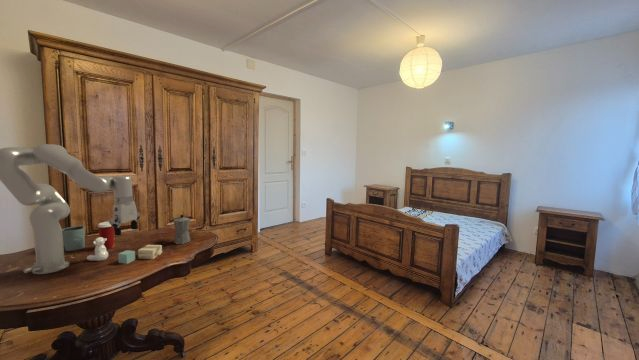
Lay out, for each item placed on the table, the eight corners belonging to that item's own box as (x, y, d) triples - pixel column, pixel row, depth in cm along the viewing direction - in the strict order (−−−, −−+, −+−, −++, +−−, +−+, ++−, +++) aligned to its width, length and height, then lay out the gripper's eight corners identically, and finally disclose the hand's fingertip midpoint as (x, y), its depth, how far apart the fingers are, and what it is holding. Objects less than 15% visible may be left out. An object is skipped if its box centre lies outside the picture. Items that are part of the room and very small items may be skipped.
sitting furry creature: (107, 254, 147) (106, 233, 146) (115, 257, 143) (114, 236, 142) (86, 260, 139) (84, 238, 137) (93, 263, 135) (92, 241, 133)
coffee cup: (120, 245, 160) (118, 221, 158) (108, 250, 152) (106, 225, 150) (107, 244, 161) (106, 220, 159) (94, 249, 153) (93, 224, 151)
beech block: (153, 259, 142) (152, 250, 142) (138, 258, 142) (138, 249, 142) (162, 253, 150) (161, 245, 150) (148, 253, 150) (148, 244, 150)
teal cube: (127, 263, 136) (126, 254, 135) (118, 263, 136) (118, 253, 136) (135, 260, 141) (134, 251, 140) (127, 259, 141) (126, 250, 141)
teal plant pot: (77, 251, 150) (76, 230, 148) (57, 251, 148) (55, 231, 147) (90, 244, 160) (89, 225, 158) (71, 245, 158) (70, 225, 157)
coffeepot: (190, 244, 165) (190, 216, 163) (173, 246, 161) (172, 217, 159) (190, 237, 179) (189, 211, 177) (174, 238, 174) (173, 212, 172)
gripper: (114, 203, 126) (117, 238, 128) (144, 197, 143) (146, 227, 145) (101, 202, 127) (104, 237, 129) (132, 196, 144) (134, 226, 146)
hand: (126, 232), depth 137 cm, fingers open, 9 cm apart
